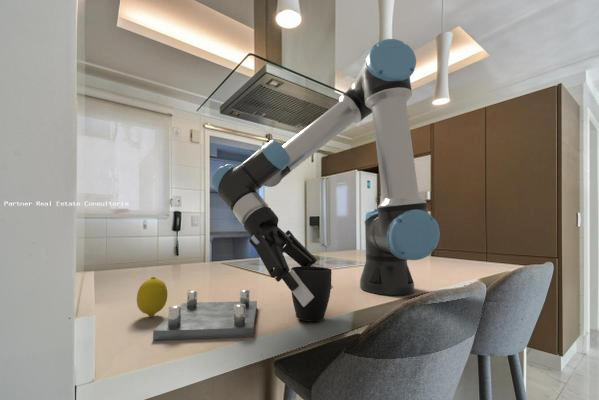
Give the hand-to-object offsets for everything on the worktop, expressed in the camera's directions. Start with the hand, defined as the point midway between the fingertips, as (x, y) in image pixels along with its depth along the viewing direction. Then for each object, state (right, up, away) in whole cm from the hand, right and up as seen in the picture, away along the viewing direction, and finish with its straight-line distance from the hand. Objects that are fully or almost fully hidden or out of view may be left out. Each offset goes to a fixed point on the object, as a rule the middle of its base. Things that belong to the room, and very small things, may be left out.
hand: (319, 296), depth 56 cm
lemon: (-34, -5, +1) cm, 34 cm away
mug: (-3, -5, +1) cm, 5 cm away
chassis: (-21, -4, -2) cm, 21 cm away
